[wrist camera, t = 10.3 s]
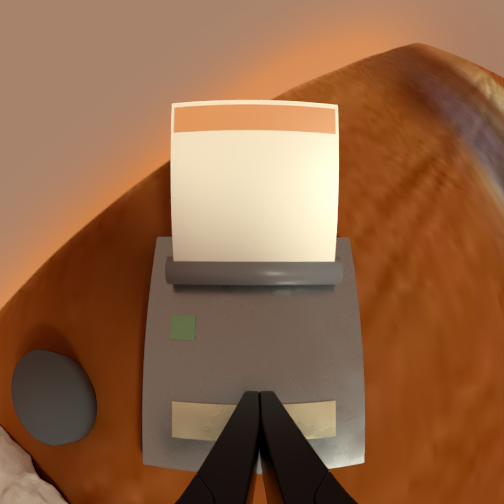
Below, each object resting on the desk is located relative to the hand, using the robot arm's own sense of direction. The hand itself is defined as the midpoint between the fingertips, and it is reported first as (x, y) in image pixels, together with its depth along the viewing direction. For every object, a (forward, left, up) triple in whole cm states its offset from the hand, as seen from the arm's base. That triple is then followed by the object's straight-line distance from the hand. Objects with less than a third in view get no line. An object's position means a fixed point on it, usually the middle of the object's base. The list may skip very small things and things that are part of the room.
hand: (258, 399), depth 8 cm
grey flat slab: (+2, -2, -10) cm, 11 cm away
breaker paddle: (+5, -5, -8) cm, 11 cm away
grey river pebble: (+8, +12, -11) cm, 18 cm away
